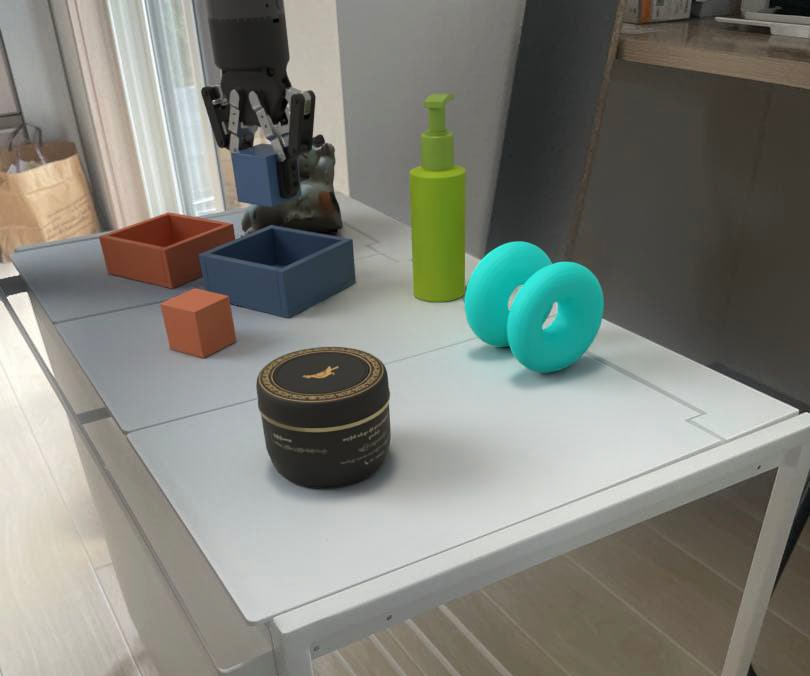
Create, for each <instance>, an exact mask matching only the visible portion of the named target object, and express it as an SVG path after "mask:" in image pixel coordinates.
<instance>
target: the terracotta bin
mask: <svg viewBox="0 0 810 676" xmlns="http://www.w3.org/2000/svg"><path fill="white" fill-rule="evenodd" d="M236 239H237V238H236V234H235V227H234V223H232V222H226V221H221V220H215V219H209V218H203V217H197V216H191V215H186V214H180V213H174V212H170V211H168V212H165V213H162V214H159V215H156V216H153V217H150V218H148V219H145V220H142V221H139V222H135V223H133V224H130V225H128V226H125V227H122V228H119V229H115V230H113V231H111V232H107V233H105V234H102V235H98V240H99V244H100V247H101V251H102V255H103V260H104V263H105V267H106V271H107V274H109V275H113V276H117V277H121V278H126V279H130V280H134V281H138V282H142V283H148V284H151V285H155V286H159V287H163V288H168V289H175V288H177V287H180V286H182V285H184V284H187V283H189V282H191V281H194V280H196V279H199V278H201V277H203V276H202V270H201V265H200V259H199V254H201V253H204V252H206V251H209V250H211V249H213V248H216V247H218V246H221V245H223V244H226V243H228V242H231V241H233V240H236Z"/></svg>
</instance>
